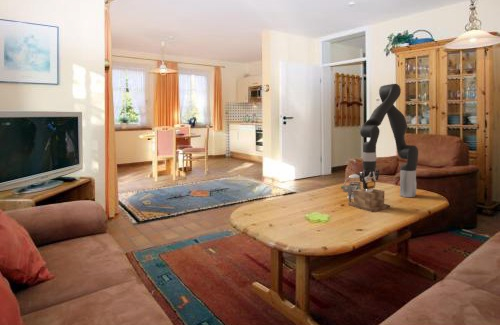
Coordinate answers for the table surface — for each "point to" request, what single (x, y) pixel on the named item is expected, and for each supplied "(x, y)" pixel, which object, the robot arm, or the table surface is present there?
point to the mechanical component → (349, 190)
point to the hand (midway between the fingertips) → (369, 188)
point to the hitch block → (369, 200)
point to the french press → (353, 183)
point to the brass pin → (370, 186)
